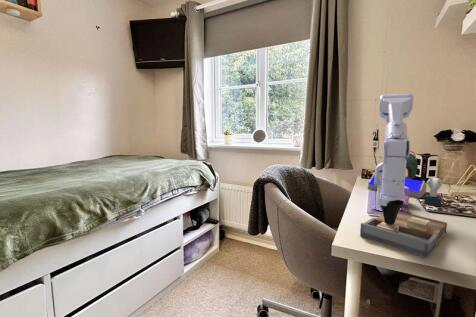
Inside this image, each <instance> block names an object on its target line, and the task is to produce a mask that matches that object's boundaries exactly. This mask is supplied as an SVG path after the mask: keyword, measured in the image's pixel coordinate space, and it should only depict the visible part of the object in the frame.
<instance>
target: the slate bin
mask: <svg viewBox="0 0 476 317" xmlns="http://www.w3.org/2000/svg"><path fill="white" fill-rule="evenodd" d="M376 218H377V217H376ZM376 218H375V217H372V218H370V219H368V220H366V221H365V222H361V223H360V233H359V236H360V237H362V238H365V239H368V240H371V241H374V242H377V243H380V244H384V245H386V246H390V247H391V248H395V249H398V250H401V251H405V252H408V253H410V254H414V255H417V256H419V257H422V258H425V259H428V258H429V257H430V255H431V254H432V252H434V251H435V249H436V247H437V244H438V242H437V235H435V234H433V236H432V237H431V238H430V239H429V240H428V239H425V238H421V237H418V236H414V235H411V234H407V233H404V232H400V231H398V233H396V232H392V231H389V230H385V229H382V228H378V227H377V225H376V224H375V220H376ZM436 243H437V244H436Z"/></svg>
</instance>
